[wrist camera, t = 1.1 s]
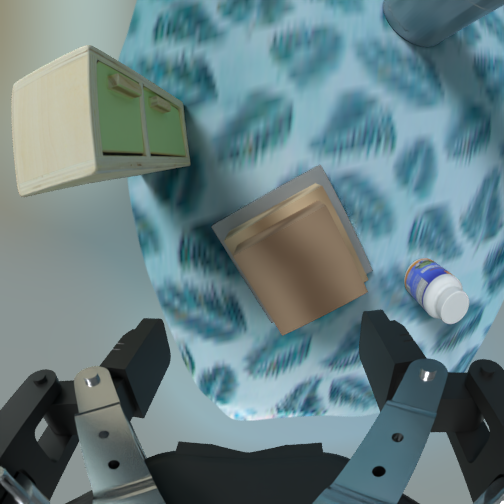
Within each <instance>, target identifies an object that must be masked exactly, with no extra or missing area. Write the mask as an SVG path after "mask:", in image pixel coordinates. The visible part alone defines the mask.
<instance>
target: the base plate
mask: <svg viewBox="0 0 504 504" xmlns="http://www.w3.org/2000/svg"><path fill="white" fill-rule="evenodd" d="M315 183H316V184H319V185H321V186H323V188H324V190H325V192H326V193H327V195H328V197H329V199H330V201H331V203H332V205H333V207H334V209H335V211H336V213H337V215H338V217H339V219H340V221H341V223H342V225H343V227H344V229H345V231H346V233H347V235H348V237H349V239H350V241H351V243H352V245H353V247H354V249H355V251H356V254H357V256H358V258H359V260H360V262H361V264H362V267H363V269H364V271H365V273H366V274H368V273H369V272H371V271H373V270H372V268H371V266H370V263H369V261H368V259H367V257H366V254H365V252H364V250H363V248H362V246H361V243H360V241H359V239H358V237H357V235H356V233H355V231H354V229H353V227H352V224H351V222H350V220H349V218H348V216H347V214H346V212H345V210H344V208H343V206H342V204H341V202H340V200H339V198H338V196H337V195H336V193H335V191H334V189H333V187H332V185H331V183H330V181H329V179H328V177H327V176H326V174H325V172H324V170H323V168H322V166H321V165H318V166H316V167H314V168H312V169H310V170H308V171H307V172H305V173H303V174H301V175H299V176H297V177H296V178H294V179H292V180H290V181H288V182H287V183H285V184H283V185H281V186H279V187H278V188H276V189H274V190H272V191H270V192H269V193H267V194H265V195H263V196H262V197H260V198H258V199H256V200H255V201H253V202H251V203H249V204H248V205H246V206H244V207H242V208H241V209H239V210H237V211H235V212H234V213H232V214H230V215H229V216H227V217H225V218H223V219H222V220H220V221H218V222H217V223H215V224H213V225H212V226H211V227H212V229H213V230H214V232H215V234H216V235H217V237H218V238H219V240H220V242H221V243H222V245H223V247H224V248H225V250H226V251H227V253H228V255H229V256H230V258H231V259H232V261H233V263H234V264H235V266H236V267H237V269H238V271H239V272H240V274H241V275H242V277H243V279H244V280H245V282H246V283H247V285H248V287H249V288H250V290H251V291H252V293H253V295H254V296H255V298H256V299H257V301H258V302H259V304H260V306H261V307H262V309H263V310H264V312H265V313H266V315H267V317H268V318H269V320H270V321H271V323H273V322H274V321H273V320H272V318H271V317H270V315H269V314H268V312H267V310H266V309H265V307H264V306H263V304H262V302H261V301H260V299H259V298H258V296H257V294H256V293H255V291H254V290H253V288H252V287H251V285H250V283H249V282H248V280H247V279H246V277H245V275H244V274H243V272H242V271H241V269H240V267H239V266H238V264H237V262H236V261H235V259H234V258H233V255H232V254H231V252H230V251H229V249H228V247H227V246H226V244H225V243H224V240H225V238H226V236H227V234H228V233H229V231H231V230H233V229H234V228H236V227H238V226H240V225H241V224H243V223H245V222H247V221H248V220H250V219H252V218H254V217H255V216H257V215H259V214H261V213H262V212H264V211H266V210H268V209H270V208H271V207H273V206H275V205H277V204H279V203H280V202H282V201H284V200H286V199H288V198H289V197H291V196H293V195H295V194H297V193H298V192H300V191H302V190H304V189H306V188H308V187H309V186H311V185H313V184H315Z"/></svg>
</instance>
